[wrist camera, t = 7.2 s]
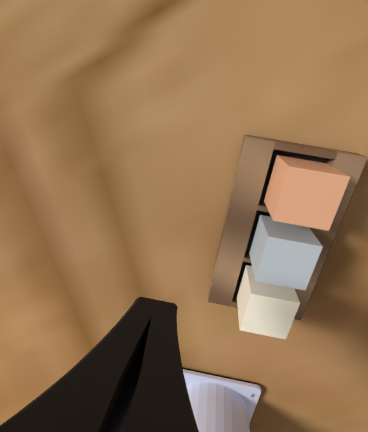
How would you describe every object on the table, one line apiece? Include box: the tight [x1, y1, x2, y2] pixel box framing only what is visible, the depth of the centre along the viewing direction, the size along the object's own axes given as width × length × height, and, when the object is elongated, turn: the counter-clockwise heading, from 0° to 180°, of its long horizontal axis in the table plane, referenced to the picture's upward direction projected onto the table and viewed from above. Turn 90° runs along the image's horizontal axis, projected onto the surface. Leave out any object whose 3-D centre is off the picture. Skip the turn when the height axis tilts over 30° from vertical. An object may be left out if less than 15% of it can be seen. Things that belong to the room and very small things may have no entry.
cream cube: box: [237, 265, 300, 339], centre depth 18 cm, size 3×3×3 cm
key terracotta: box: [264, 155, 350, 231], centre depth 15 cm, size 3×3×3 cm
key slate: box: [249, 215, 323, 290], centre depth 16 cm, size 3×3×3 cm
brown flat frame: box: [208, 135, 368, 320], centre depth 18 cm, size 12×7×1 cm, turn 172°
